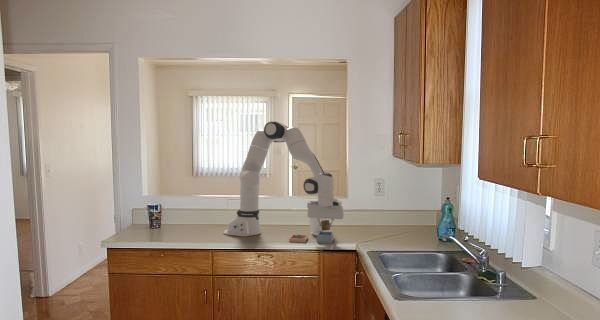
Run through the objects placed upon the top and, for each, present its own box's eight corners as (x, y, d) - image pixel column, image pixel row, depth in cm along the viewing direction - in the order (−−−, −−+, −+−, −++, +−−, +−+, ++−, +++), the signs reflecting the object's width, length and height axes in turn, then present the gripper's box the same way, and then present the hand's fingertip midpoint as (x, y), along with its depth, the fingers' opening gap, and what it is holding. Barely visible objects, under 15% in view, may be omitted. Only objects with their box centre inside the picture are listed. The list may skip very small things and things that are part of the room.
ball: (295, 240, 237) (295, 235, 237) (296, 239, 240) (296, 233, 240) (300, 240, 236) (300, 235, 236) (301, 239, 239) (302, 233, 239)
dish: (289, 242, 235) (289, 238, 234) (292, 238, 243) (292, 234, 243) (304, 243, 233) (305, 239, 233) (307, 239, 242) (307, 235, 242)
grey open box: (316, 243, 233) (316, 234, 233) (319, 239, 241) (319, 231, 241) (331, 244, 231) (331, 235, 231) (333, 240, 239) (333, 232, 239)
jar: (324, 236, 248) (325, 211, 247) (307, 235, 250) (307, 210, 249) (327, 232, 258) (327, 208, 257) (310, 231, 260) (310, 207, 259)
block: (322, 230, 234) (320, 221, 234) (323, 228, 238) (322, 220, 238) (329, 229, 233) (328, 221, 233) (330, 228, 237) (329, 219, 237)
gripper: (306, 201, 234) (306, 226, 235) (343, 203, 230) (343, 228, 231) (308, 200, 240) (308, 224, 241) (344, 201, 236) (344, 225, 237)
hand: (325, 226), depth 236 cm, fingers closed on block, 4 cm apart
